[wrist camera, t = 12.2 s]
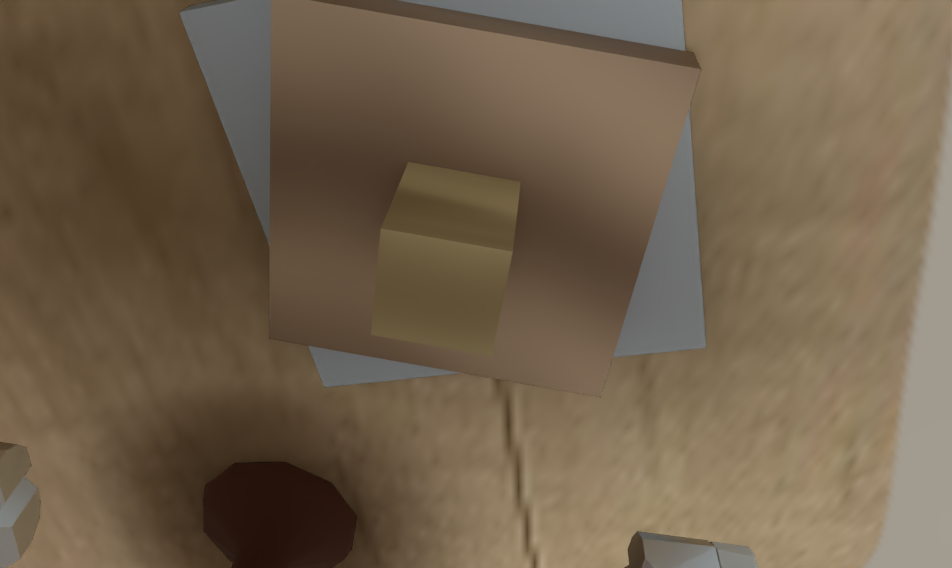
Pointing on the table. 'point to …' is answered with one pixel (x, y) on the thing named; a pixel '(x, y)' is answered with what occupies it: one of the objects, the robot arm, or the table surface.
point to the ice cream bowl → (277, 517)
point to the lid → (464, 186)
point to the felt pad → (541, 3)
